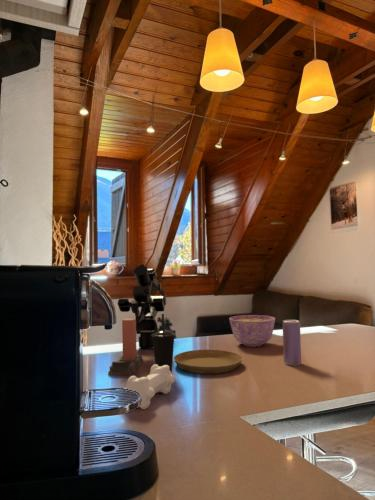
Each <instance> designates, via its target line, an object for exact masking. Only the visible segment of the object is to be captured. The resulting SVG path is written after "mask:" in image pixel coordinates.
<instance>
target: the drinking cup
mask: <svg viewBox="0 0 375 500" xmlns="http://www.w3.org/2000/svg"><path fill="white" fill-rule="evenodd" d="M151 336H152V338H153V347H154V348H153V354H154V364H157V365H158V366H163V365H168V366H169V367H170V369H169V370H170V371H171V373H172V372H173V363H174V362H173V361H174V344H175V343H174V342H175V336H176V333H175V332H174V331H171V330H167V329H165V314H164V313H161V329H160V330H159V329H158V331H156V332H155V333H153V334H151ZM172 374H173V373H172Z"/></svg>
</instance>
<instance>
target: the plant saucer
mask: <svg viewBox="0 0 375 500" xmlns="http://www.w3.org/2000/svg"><path fill="white" fill-rule="evenodd" d="M173 361H174V362H175V364H176V365H177V366H178V367H179V368H180V369H182V370H184V371H186V372H189V373H194V374H201V375H202V374H203V375H204V374H205V375H212V374H222V373H227V372H230V371H233V370H234V369H236V368H237V367H239V366H240V364H241V363H242V361H243V356H241V354H238V353H236V352H232V351H228V350H221V349H194V350H188V351H183V352H180V353H177V354H175V355H173Z"/></svg>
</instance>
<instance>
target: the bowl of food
mask: <svg viewBox="0 0 375 500" xmlns="http://www.w3.org/2000/svg"><path fill="white" fill-rule="evenodd" d="M228 319H229V324H230V329H231V332H232V335H233V338H234V339H235V340H236V341H237V342H239V343H240V344H243V346H245V347H253V348H255V347H256V346H257V347H261V345H262V346H263V345H264V344H266V343H267V342H269V341H270V340H271V338H273V337H272V336H273V332H274V327H275V322H276V317H274V316H270V315H261V314H260V315H259V314H244V315H234V316H230V317H229V318H228ZM257 347H256V348H257Z"/></svg>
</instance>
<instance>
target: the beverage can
mask: <svg viewBox="0 0 375 500" xmlns="http://www.w3.org/2000/svg"><path fill="white" fill-rule="evenodd" d="M301 339H302V337H301V323H300V320H298V319H284V320H282V343H283V344H282V346H283V349H282V350H283V362H284V364H285V365H287V366H291V367H292V366H300V365H301V364H302V344H301V343H302V340H301Z"/></svg>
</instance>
